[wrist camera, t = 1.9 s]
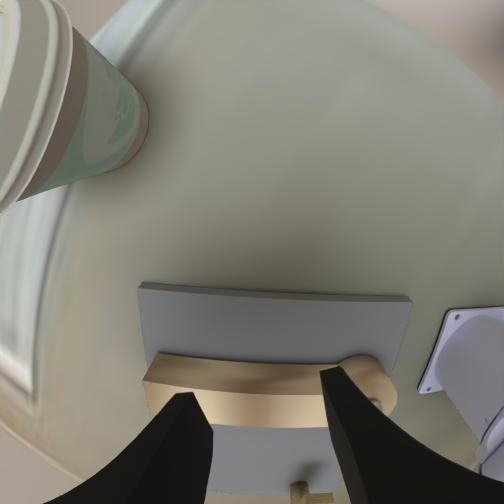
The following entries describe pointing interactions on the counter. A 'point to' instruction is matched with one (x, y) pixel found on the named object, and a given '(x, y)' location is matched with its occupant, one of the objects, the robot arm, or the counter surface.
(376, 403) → the pintle
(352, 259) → the counter surface
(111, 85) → the coffee cup
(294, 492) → the keeper
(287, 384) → the link
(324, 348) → the board
